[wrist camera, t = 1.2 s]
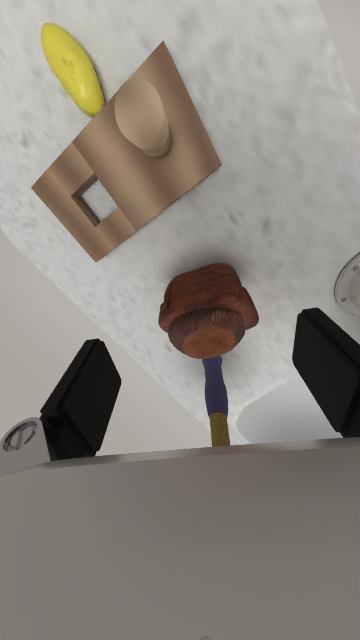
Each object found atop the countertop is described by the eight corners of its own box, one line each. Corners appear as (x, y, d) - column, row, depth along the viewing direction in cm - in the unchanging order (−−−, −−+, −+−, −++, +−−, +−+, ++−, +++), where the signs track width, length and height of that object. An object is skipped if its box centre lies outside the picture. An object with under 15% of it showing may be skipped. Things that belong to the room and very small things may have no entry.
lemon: (92, 130, 27) (78, 122, 24) (44, 49, 24) (20, 26, 20) (117, 108, 26) (106, 96, 23) (71, 18, 22) (50, -11, 19)
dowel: (162, 113, 24) (142, 62, 14) (180, 147, 25) (172, 121, 16) (138, 137, 25) (104, 104, 15) (156, 168, 26) (136, 155, 17)
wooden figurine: (177, 306, 40) (168, 379, 24) (166, 275, 37) (146, 336, 21) (241, 289, 37) (274, 358, 22) (234, 254, 34) (267, 306, 19)
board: (166, 56, 23) (163, 40, 21) (218, 167, 28) (221, 164, 26) (44, 187, 31) (30, 187, 28) (102, 257, 36) (95, 262, 33)
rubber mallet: (183, 338, 43) (169, 549, 18) (218, 326, 42) (258, 544, 16) (205, 378, 49) (218, 581, 24) (237, 369, 47) (288, 581, 22)
